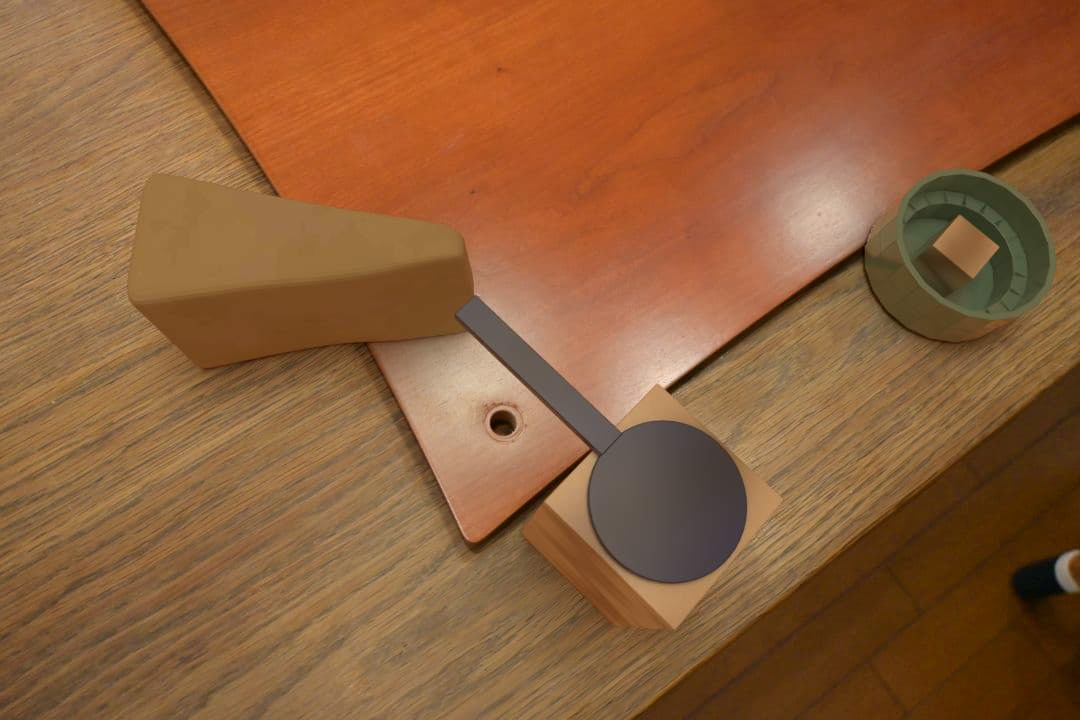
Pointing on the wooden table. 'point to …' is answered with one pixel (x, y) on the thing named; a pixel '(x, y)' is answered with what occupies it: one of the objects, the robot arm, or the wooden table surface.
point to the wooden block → (953, 256)
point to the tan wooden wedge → (287, 272)
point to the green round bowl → (999, 286)
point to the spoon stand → (634, 494)
